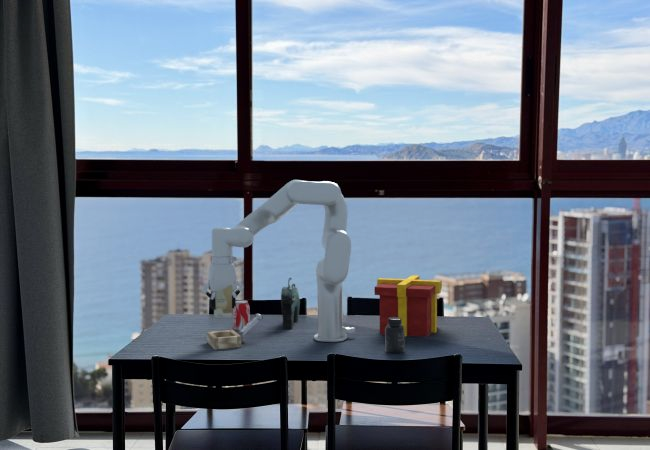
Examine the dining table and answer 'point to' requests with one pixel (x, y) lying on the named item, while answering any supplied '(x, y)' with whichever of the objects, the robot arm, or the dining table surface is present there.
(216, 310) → the skincare box
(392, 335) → the supplement bottle
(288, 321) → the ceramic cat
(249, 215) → the robot arm
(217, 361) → the dining table surface
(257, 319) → the latch bar
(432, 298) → the gift box
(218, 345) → the socket
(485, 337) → the dining table surface
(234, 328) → the soda can
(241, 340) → the bracket
